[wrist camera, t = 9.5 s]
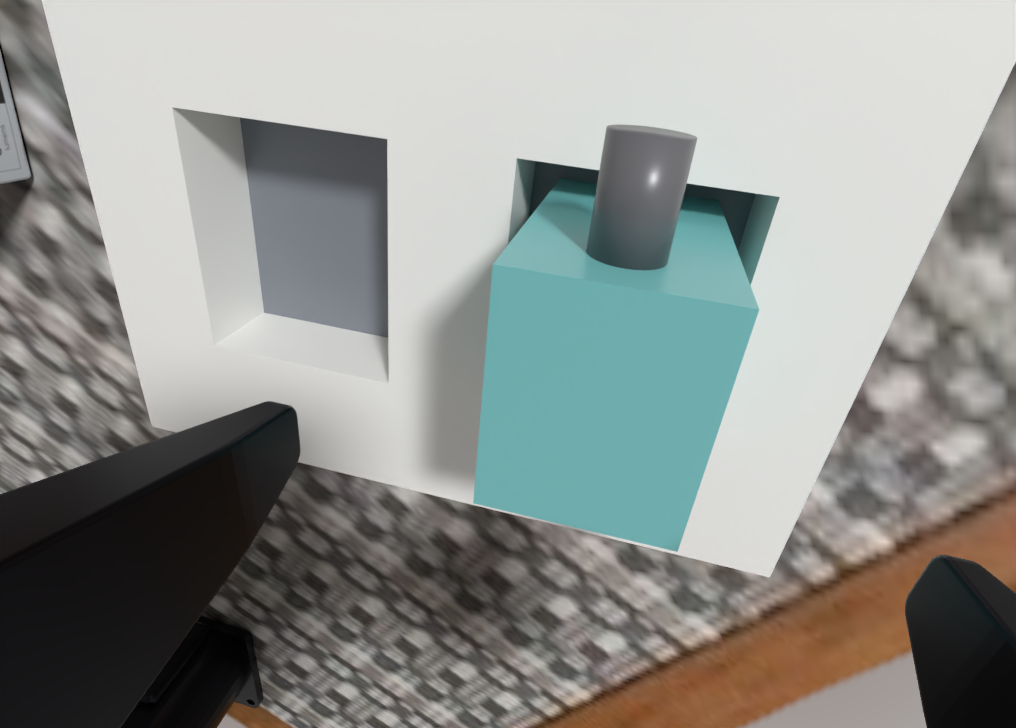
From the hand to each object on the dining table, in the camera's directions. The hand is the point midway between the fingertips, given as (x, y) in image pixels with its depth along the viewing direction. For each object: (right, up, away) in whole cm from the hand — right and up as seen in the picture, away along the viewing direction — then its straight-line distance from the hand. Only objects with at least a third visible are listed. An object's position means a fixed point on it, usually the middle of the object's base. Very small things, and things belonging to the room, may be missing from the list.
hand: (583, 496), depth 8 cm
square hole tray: (-2, +5, +9) cm, 11 cm away
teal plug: (+2, +4, +8) cm, 9 cm away
